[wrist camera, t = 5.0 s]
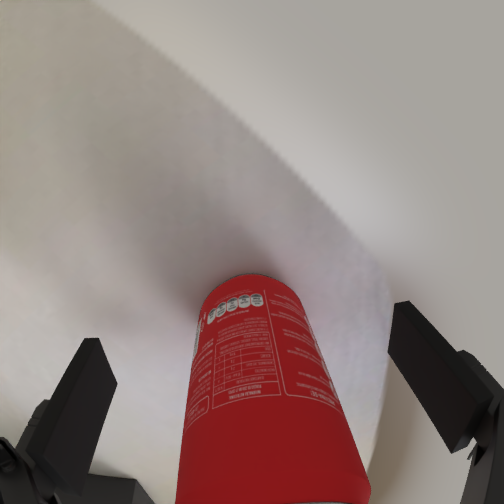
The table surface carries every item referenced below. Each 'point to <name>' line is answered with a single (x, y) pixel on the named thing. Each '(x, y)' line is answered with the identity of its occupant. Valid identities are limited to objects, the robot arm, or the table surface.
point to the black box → (107, 492)
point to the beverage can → (263, 406)
